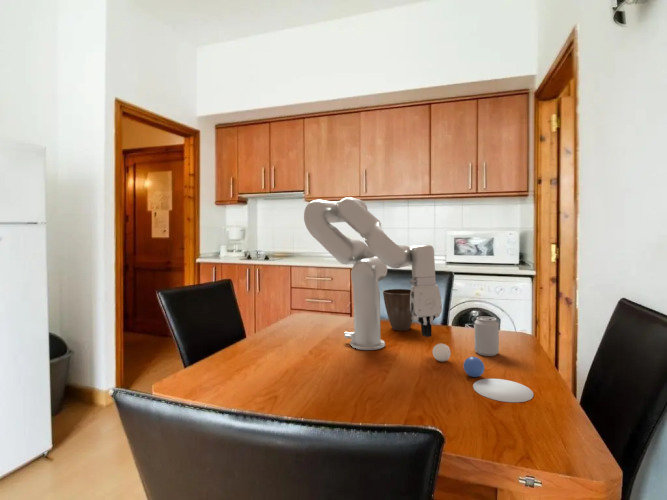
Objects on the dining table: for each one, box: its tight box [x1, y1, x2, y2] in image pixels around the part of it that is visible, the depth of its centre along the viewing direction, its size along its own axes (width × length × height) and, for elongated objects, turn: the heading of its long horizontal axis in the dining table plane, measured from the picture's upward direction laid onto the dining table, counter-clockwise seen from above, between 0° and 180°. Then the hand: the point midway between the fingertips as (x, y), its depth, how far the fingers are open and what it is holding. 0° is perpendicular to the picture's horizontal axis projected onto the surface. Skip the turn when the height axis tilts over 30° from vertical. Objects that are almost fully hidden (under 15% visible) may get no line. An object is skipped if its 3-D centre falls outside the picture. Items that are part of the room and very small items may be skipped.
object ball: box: [463, 356, 485, 378], centre depth 104 cm, size 6×6×6 cm
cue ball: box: [432, 343, 451, 363], centre depth 117 cm, size 6×6×6 cm
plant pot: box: [382, 288, 414, 331], centre depth 158 cm, size 15×15×16 cm
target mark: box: [472, 378, 534, 403], centre depth 95 cm, size 14×14×1 cm
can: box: [474, 315, 500, 357], centre depth 124 cm, size 8×8×12 cm
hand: (426, 335), depth 125 cm, fingers closed
